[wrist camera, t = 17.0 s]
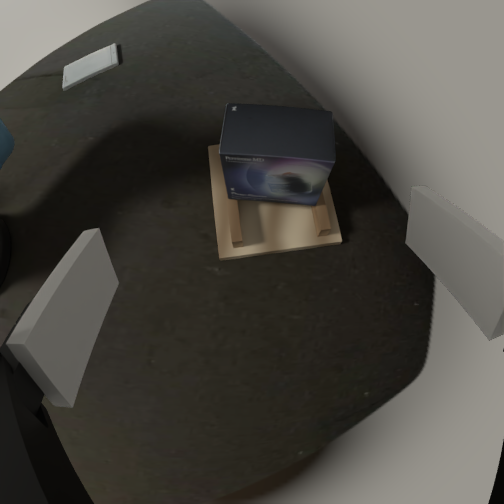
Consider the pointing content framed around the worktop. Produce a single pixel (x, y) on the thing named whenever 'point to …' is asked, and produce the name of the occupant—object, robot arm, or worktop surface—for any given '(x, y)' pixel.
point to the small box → (276, 153)
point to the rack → (268, 221)
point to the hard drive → (90, 66)
